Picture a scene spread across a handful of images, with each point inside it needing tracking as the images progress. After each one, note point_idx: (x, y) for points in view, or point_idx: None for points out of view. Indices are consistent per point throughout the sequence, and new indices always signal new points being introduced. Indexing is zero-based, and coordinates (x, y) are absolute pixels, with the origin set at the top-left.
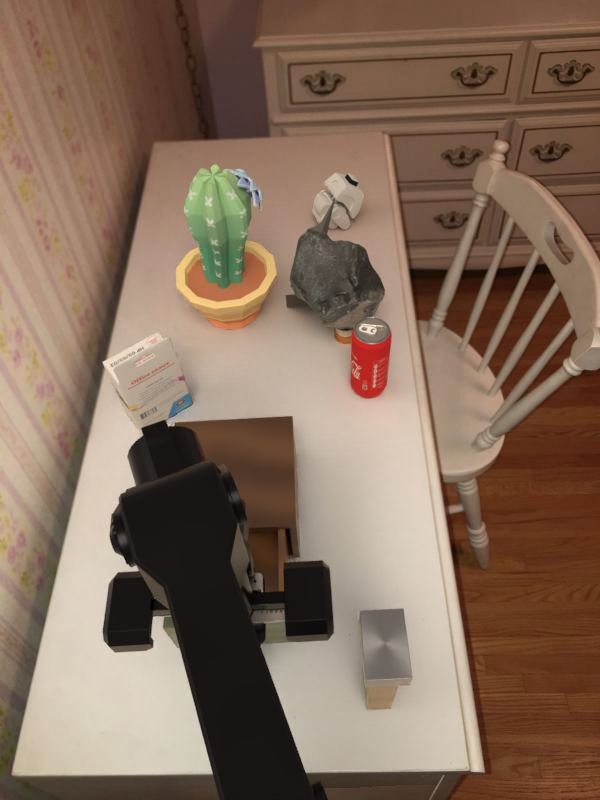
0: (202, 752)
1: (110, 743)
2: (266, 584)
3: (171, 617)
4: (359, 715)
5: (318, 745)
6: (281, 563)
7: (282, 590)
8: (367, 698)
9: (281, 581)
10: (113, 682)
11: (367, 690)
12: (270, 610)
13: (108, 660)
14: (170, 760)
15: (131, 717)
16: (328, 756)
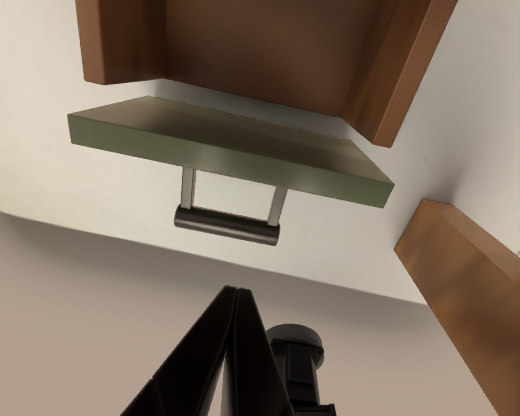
0: (190, 240)
1: (77, 206)
2: (331, 35)
3: (88, 121)
4: (381, 252)
5: (321, 265)
6: (429, 31)
7: (390, 124)
8: (411, 268)
9: (400, 95)
10: (59, 135)
11: (423, 274)
12: (321, 98)
13: (40, 98)
14: (153, 238)
15: (97, 186)
16: (328, 275)
